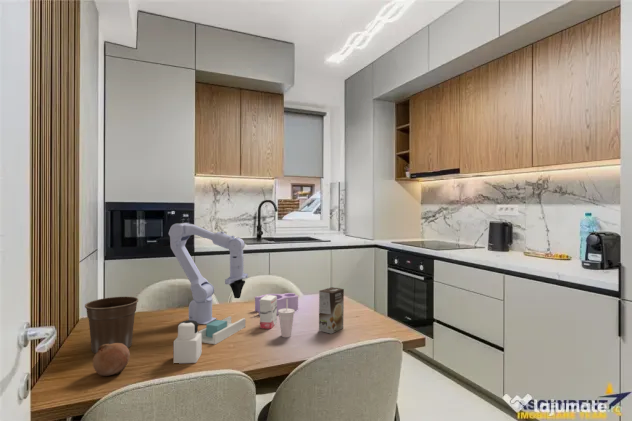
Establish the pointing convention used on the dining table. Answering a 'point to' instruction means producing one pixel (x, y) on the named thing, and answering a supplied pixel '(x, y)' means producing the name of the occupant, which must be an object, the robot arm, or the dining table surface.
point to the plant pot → (111, 321)
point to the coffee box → (331, 309)
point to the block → (215, 327)
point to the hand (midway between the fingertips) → (237, 297)
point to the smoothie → (286, 320)
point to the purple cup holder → (280, 301)
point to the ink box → (268, 311)
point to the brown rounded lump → (111, 359)
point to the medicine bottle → (187, 343)
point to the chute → (223, 331)
